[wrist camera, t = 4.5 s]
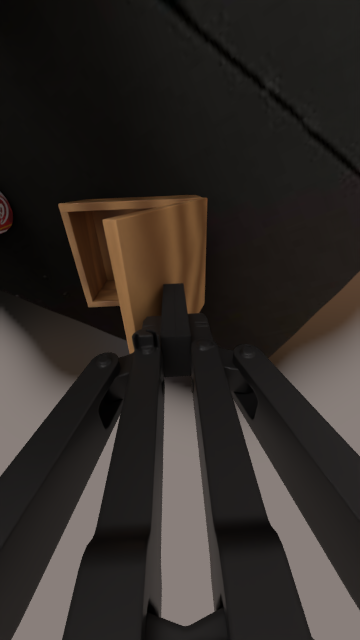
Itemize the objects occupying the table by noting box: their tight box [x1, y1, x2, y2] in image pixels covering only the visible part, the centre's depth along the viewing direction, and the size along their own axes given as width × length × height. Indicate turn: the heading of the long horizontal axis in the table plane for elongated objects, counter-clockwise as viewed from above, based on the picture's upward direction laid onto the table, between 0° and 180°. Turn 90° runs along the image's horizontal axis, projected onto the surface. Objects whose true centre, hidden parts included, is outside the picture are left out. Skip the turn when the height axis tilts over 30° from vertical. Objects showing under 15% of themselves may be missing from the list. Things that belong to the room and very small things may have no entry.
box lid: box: [102, 198, 207, 354], centre depth 20 cm, size 16×13×1 cm
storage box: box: [58, 195, 202, 307], centre depth 30 cm, size 16×13×9 cm
